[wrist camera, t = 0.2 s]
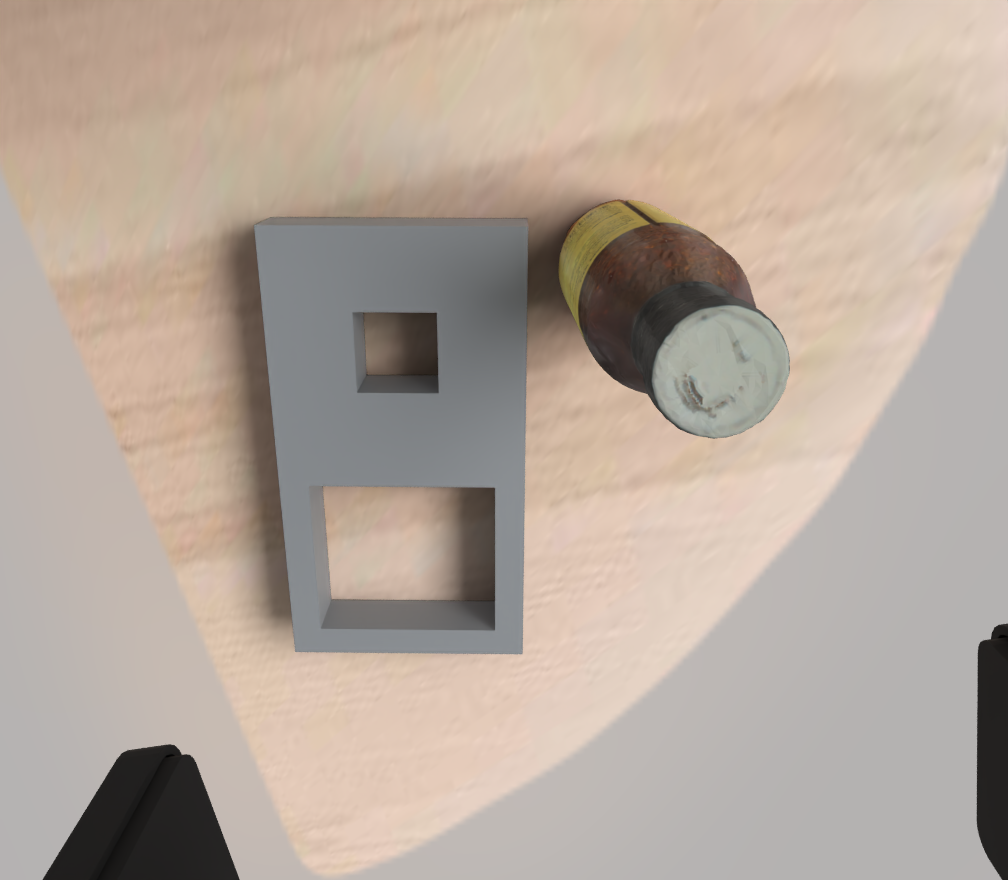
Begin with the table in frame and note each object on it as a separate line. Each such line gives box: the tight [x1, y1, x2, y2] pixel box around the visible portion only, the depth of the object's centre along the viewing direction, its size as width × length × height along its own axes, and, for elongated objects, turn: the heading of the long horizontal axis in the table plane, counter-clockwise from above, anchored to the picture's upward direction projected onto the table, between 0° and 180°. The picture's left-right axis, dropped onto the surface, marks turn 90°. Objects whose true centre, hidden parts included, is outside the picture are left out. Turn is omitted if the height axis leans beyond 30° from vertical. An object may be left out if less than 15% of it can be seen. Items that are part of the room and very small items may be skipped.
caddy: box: [254, 217, 528, 654], centre depth 45 cm, size 23×12×3 cm, turn 0°
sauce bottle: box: [559, 200, 790, 439], centre depth 34 cm, size 7×6×20 cm
